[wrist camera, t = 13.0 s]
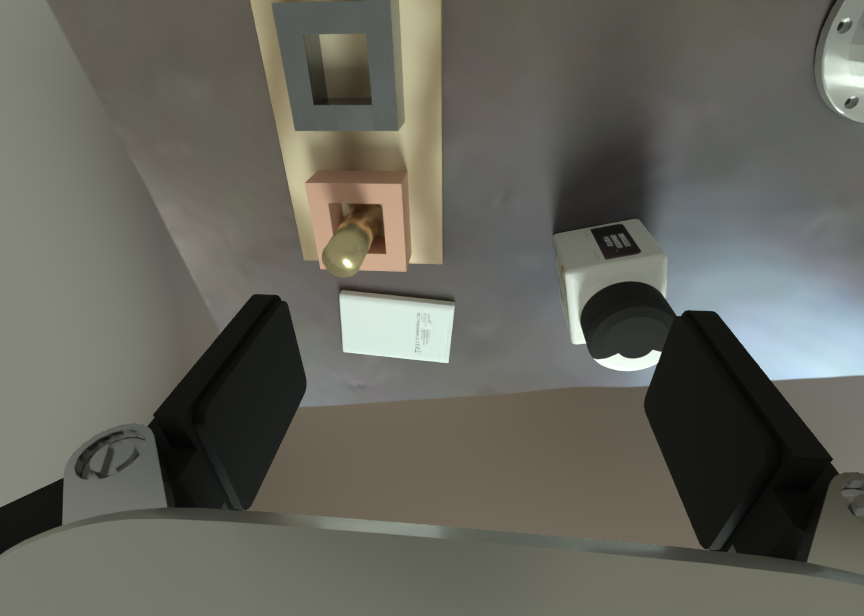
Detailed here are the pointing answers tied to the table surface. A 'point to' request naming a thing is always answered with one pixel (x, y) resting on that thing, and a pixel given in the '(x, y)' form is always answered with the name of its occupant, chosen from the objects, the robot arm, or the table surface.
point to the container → (615, 293)
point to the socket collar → (363, 188)
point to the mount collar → (306, 69)
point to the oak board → (369, 150)
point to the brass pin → (352, 240)
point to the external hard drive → (396, 326)
